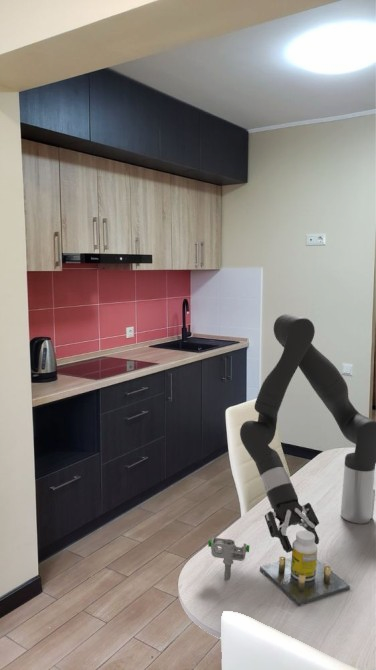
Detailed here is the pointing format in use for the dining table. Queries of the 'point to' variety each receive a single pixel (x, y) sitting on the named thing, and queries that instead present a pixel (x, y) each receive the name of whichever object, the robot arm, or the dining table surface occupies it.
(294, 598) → the plate
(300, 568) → the pill bottle
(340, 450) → the dining table surface
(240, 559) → the mechanical component
